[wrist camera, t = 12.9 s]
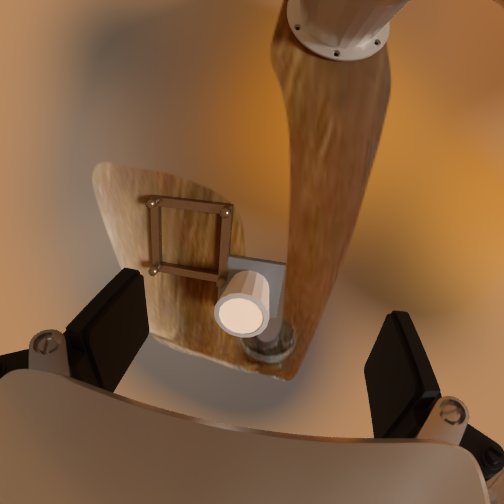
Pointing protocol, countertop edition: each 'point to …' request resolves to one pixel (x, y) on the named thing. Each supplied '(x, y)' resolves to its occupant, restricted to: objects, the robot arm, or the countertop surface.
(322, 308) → the countertop surface
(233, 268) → the coaster
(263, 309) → the shot glass
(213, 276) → the brown square frame
